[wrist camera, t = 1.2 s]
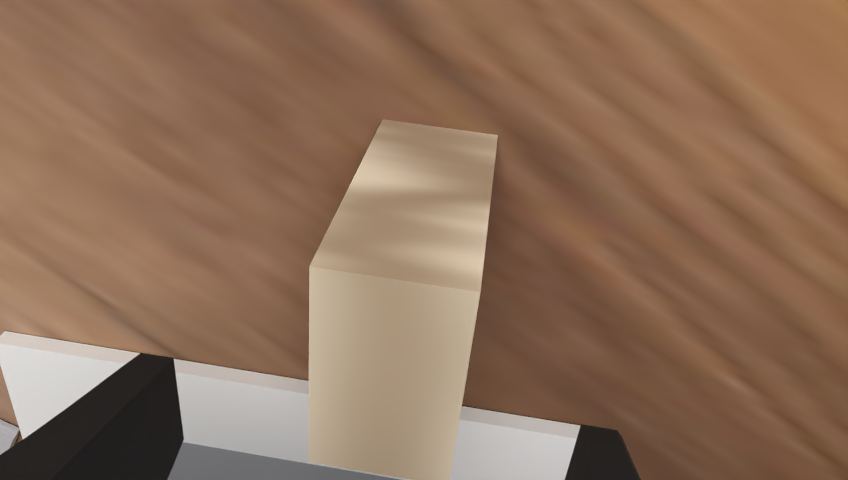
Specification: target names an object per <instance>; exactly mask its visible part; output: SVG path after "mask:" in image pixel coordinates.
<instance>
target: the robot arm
mask: <svg viewBox="0 0 848 480" xmlns="http://www.w3.org/2000/svg"><path fill="white" fill-rule="evenodd" d="M183 440H184V435H183V427H182V420H181V412H180V404H179V396H178V389H177V381H176V373H175V365H174V358H168V357H162V356H156V355H150V354H143V353H140V354H139V355H137V356H136V357H135V358H133V359H132V360H130V361H129V362H128V363H126V364H125V365H124V366H122V367H121V368H120V369H118V370H117V371H116V372H114V373H113V374H112V375H110V376H109V377H108V378H106V379H105V380H104V381H102V382H101V383H100V384H98V385H97V386H96V387H94V388H93V389H92V390H90V391H89V392H88V393H86V394H85V395H84V396H82V397H81V398H80V399H78V400H77V401H76V402H74V403H73V404H72V405H70V406H69V407H68V408H66V409H65V410H63V411H62V412H61V413H59V414H58V415H56V416H55V417H54V418H52V419H51V420H50V421H48V422H47V423H45V424H44V425H43V426H41V427H40V428H38V429H37V430H36V431H34V432H33V433H32V434H30V435H29V436H27V437H26V438H24V439H23V440H22V441H20V442H19V443H17V444H16V445H14V446H13V447H11V448H10V449H8V450H7V451H5V452H4V453H2V454H1V455H0V480H167V479H168V477H169V475H170V472H171V470H172V468H173V465H174V463H175V460H176V458H177V455H178V453H179V450H180V448H181V445H182V443H183ZM565 480H641V479H640V477H639V475H638V473H637V471H636V468H635V466H634V464H633V462H632V459H631V457H630V455H629V452H628V450H627V448H626V446H625V443H624V441H623V438H622V436H621V435H620V434H619V432H618V431H617V430H612V429H606V428H599V427H593V426H587V425H581V426H580V430H579V433H578V436H577V440H576V443H575V446H574V450H573V453H572V457H571V460H570V463H569V467H568V470H567V474H566V477H565Z"/></svg>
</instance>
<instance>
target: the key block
mask: <svg viewBox="0 0 848 480" xmlns="http://www.w3.org/2000/svg"><path fill="white" fill-rule="evenodd" d="M497 139H498V135H492V134H485V133H478V132H471V131H463V130H456V129H449V128H442V127H434V126H427V125H420V124H413V123H405V122H398V121H391V120H384V119H383V120H382V122H381V124H380V126H379V128H378V130H377V132H376V134H375V136H374V138H373V140H372V142H371V144H370V146H369V148H368V150H367V152H366V154H365V156H364V158H363V160H362V162H361V164H360V166H359V168H358V170H357V172H356V174H355V176H354V178H353V180H352V182H351V184H350V186H349V188H348V190H347V192H346V194H345V196H344V198H343V200H342V202H341V204H340V206H339V208H338V210H337V212H336V214H335V216H334V218H333V220H332V222H331V224H330V226H329V228H328V230H327V232H326V234H325V236H324V238H323V240H322V242H321V244H320V246H319V248H318V250H317V252H316V254H315V256H314V258H313V260H312V262H311V264H310V266H309V412H308V462H312V463H318V464H324V465H329V466H335V467H341V468H347V469H353V470H359V471H364V472H370V473H376V474H382V475H388V476H394V477H399V478H405V479H411V480H450V474H451V468H452V462H453V456H454V450H455V444H456V438H457V431H458V425H459V419H460V413H461V407H462V401H463V395H464V389H465V383H466V377H467V371H468V365H469V359H470V353H471V347H472V341H473V334H474V328H475V322H476V316H477V310H478V304H479V298H480V292H481V283H482V274H483V265H484V256H485V247H486V238H487V229H488V220H489V211H490V202H491V193H492V184H493V175H494V166H495V157H496V148H497Z"/></svg>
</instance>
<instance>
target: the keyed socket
mask: <svg viewBox="0 0 848 480" xmlns="http://www.w3.org/2000/svg"><path fill="white" fill-rule="evenodd" d="M139 354H140V353H136V352H129V351H123V350H117V349H111V348H105V347H99V346H93V345H87V344H81V343H75V342H69V341H62V340H56V339H50V338H44V337H38V336H32V335H26V334H20V333H14V332H8V331H5V332H4V333H3V334H2V335H1V336H0V365H1V369H2V372H3V375H4V379H5V382H6V385H7V389H8V392H9V395H10V399H11V402H12V405H13V409H14V412H15V415H16V419H17V422H18V425H19V429H20V432H21V435H22V439H24V438H26V437H27V436H29V435H30V434H32V433H33V432H34V431H36V430H37V429H38V428H40V427H41V426H43V425H44V424H45V423H47V422H48V421H50V420H51V419H52V418H54V417H55V416H56V415H58V414H59V413H61V412H62V411H63V410H65V409H66V408H68V407H69V406H70V405H72V404H73V403H74V402H76V401H77V400H78V399H80V398H81V397H82V396H84V395H85V394H86V393H88V392H89V391H90V390H92V389H93V388H94V387H96V386H97V385H98V384H100V383H101V382H102V381H104V380H105V379H106V378H108V377H109V376H110V375H112V374H113V373H114V372H116V371H117V370H118V369H120V368H121V367H122V366H124V365H125V364H126V363H128V362H129V361H130V360H132V359H133V358H135V357H136V356H137V355H139ZM174 365H175V373H176V381H177V389H178V396H179V404H180V412H181V420H182V427H183V435H184V440H183V443H182V445H181V448H180V450H179V453H178V455H177V458H176V460H175V463H174V465H173V468H172V470H171V472H170V475H169V477H168V479H167V480H411V479H405V478H399V477H394V476H388V475H382V474H376V473H370V472H364V471H359V470H353V469H347V468H341V467H335V466H329V465H324V464H318V463H312V462H308V412H309V381H306V380H300V379H294V378H288V377H282V376H276V375H269V374H263V373H257V372H251V371H245V370H239V369H233V368H227V367H221V366H215V365H209V364H202V363H196V362H190V361H184V360H178V359H174ZM579 430H580V425H574V424H568V423H562V422H556V421H550V420H543V419H537V418H531V417H525V416H519V415H513V414H507V413H501V412H495V411H489V410H483V409H476V408H470V407H464V406H462V407H461V413H460V419H459V425H458V431H457V438H456V444H455V450H454V456H453V462H452V468H451V474H450V480H565V477H566V474H567V470H568V467H569V463H570V460H571V457H572V453H573V450H574V446H575V443H576V440H577V436H578V433H579Z"/></svg>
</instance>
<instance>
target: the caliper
mask: <svg viewBox="0 0 848 480" xmlns="http://www.w3.org/2000/svg"><path fill="white" fill-rule="evenodd" d="M19 433H20V429H19V428H18V427H16V426H14V425H11V424H9V423H7V422H5V421H3V420H0V455H1V454H2V453H4V452H5V451H7V450H8V449H10V448H11V447H13V446H14V445H15V442H16V440H17V438H18V436H19Z"/></svg>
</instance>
